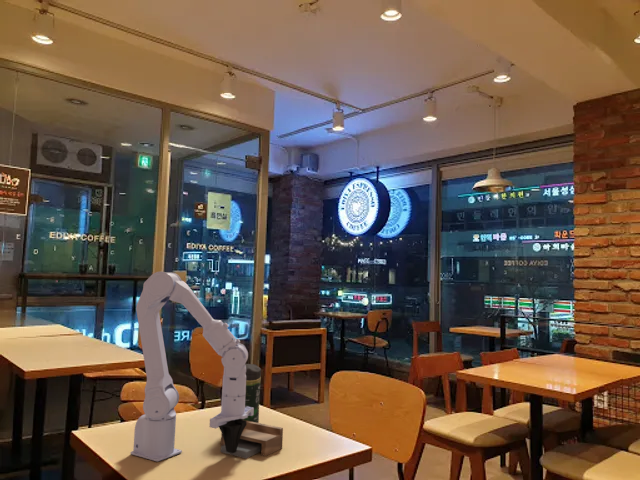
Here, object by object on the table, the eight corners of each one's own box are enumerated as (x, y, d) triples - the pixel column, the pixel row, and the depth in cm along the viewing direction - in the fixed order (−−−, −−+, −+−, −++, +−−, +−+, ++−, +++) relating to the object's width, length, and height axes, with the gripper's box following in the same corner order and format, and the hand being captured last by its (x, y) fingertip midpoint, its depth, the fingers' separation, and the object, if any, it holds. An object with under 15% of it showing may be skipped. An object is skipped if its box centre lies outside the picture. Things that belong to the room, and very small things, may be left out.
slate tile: (220, 454, 123) (220, 445, 123) (240, 445, 130) (241, 437, 130) (246, 460, 119) (246, 452, 119) (265, 451, 126) (265, 443, 126)
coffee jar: (253, 437, 135) (256, 368, 137) (225, 435, 136) (228, 366, 138) (261, 427, 145) (264, 362, 147) (235, 425, 146) (238, 361, 147)
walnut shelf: (220, 445, 127) (221, 425, 128) (239, 438, 134) (239, 419, 134) (265, 456, 121) (266, 435, 121) (282, 447, 127) (282, 427, 128)
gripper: (227, 402, 113) (224, 463, 112) (264, 391, 126) (262, 446, 124) (204, 398, 117) (200, 457, 115) (242, 388, 129) (239, 441, 128)
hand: (231, 451), depth 120 cm, fingers closed
